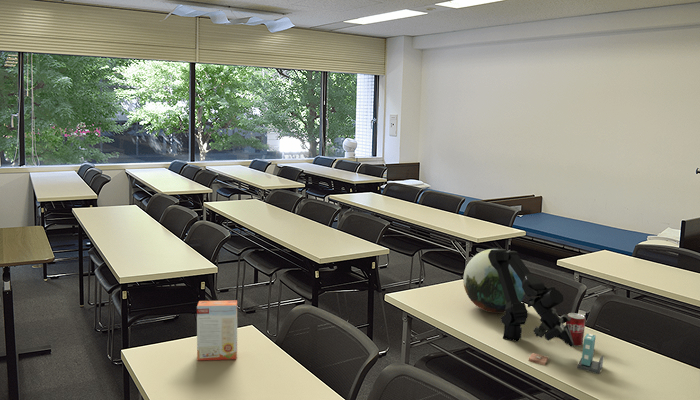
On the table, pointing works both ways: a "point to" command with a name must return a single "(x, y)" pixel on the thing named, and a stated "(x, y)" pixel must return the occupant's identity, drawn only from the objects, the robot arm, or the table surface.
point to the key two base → (592, 366)
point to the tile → (538, 358)
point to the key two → (588, 349)
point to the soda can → (576, 328)
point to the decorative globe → (488, 284)
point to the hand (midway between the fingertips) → (572, 346)
